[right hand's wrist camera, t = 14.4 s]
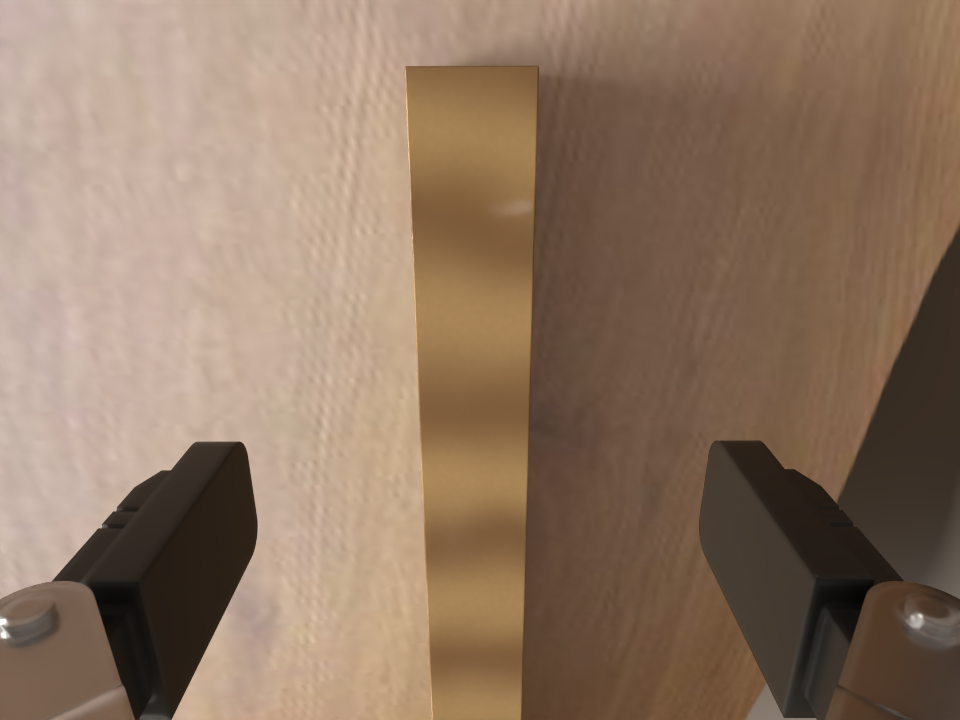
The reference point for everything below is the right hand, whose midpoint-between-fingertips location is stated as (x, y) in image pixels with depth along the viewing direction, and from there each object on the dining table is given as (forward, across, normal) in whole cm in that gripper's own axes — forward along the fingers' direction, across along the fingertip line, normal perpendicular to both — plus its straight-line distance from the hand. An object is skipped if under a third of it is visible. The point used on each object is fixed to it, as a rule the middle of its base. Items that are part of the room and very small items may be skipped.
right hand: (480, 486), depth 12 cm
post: (+25, 0, -21) cm, 33 cm away
